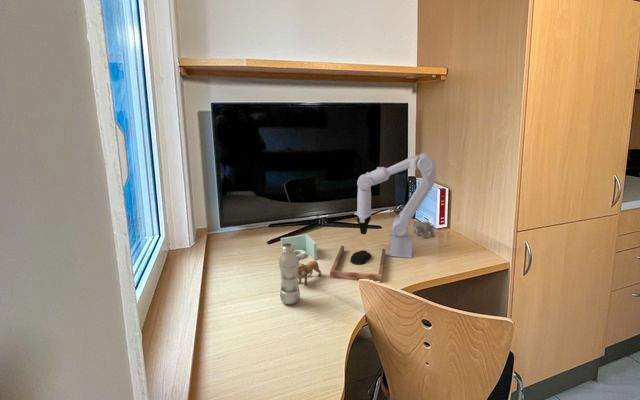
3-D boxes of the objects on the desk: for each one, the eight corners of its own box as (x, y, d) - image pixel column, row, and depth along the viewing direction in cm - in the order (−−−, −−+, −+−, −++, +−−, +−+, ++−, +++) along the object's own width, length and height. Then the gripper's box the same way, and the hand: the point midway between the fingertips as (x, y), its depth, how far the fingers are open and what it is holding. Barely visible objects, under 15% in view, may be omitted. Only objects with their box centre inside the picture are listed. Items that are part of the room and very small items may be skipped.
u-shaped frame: (385, 254, 152) (385, 249, 151) (381, 282, 128) (381, 276, 128) (341, 251, 156) (341, 245, 155) (330, 277, 132) (329, 271, 132)
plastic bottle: (289, 294, 121) (287, 239, 116) (304, 300, 117) (302, 244, 112) (276, 302, 117) (273, 246, 111) (291, 309, 112) (288, 251, 107)
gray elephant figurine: (436, 235, 173) (437, 220, 171) (428, 242, 163) (429, 226, 162) (417, 232, 178) (418, 217, 176) (409, 238, 168) (410, 223, 166)
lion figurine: (304, 291, 123) (303, 267, 121) (291, 288, 126) (290, 264, 123) (324, 273, 136) (323, 252, 133) (312, 271, 138) (311, 249, 136)
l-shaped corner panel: (281, 254, 155) (280, 238, 153) (307, 249, 159) (307, 234, 157) (289, 265, 144) (288, 248, 142) (316, 260, 148) (316, 243, 146)
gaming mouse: (377, 254, 153) (377, 245, 152) (361, 267, 141) (361, 258, 140) (364, 251, 157) (364, 242, 156) (347, 263, 145) (347, 254, 144)
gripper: (356, 198, 157) (356, 227, 161) (352, 207, 144) (352, 238, 147) (372, 198, 156) (372, 228, 159) (369, 208, 142) (369, 239, 146)
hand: (363, 233), depth 153 cm, fingers closed
